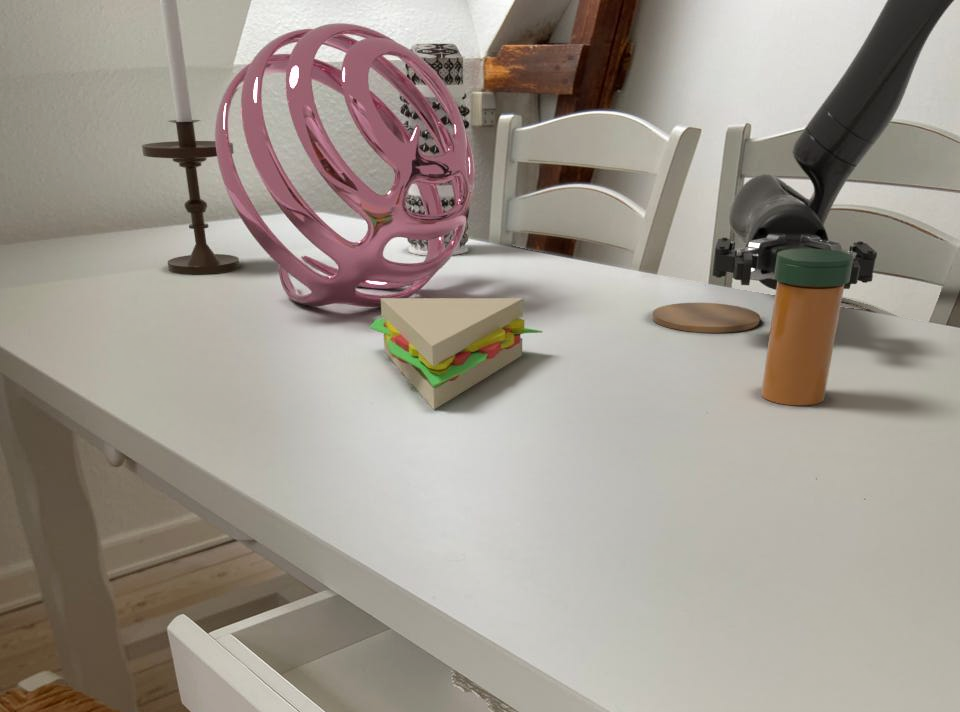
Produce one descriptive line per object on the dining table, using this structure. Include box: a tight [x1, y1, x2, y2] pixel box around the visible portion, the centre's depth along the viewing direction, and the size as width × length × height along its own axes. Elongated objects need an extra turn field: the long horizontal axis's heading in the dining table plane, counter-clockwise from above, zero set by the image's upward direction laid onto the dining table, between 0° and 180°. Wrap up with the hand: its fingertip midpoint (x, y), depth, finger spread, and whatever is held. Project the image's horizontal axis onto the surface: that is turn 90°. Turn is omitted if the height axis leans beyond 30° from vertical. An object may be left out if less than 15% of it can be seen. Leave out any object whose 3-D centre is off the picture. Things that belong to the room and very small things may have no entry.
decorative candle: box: [399, 43, 470, 256], centre depth 134 cm, size 9×9×25 cm
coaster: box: [651, 302, 761, 334], centre depth 105 cm, size 11×11×1 cm
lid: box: [774, 249, 853, 287], centre depth 77 cm, size 6×6×2 cm
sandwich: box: [369, 297, 543, 410], centre depth 86 cm, size 15×20×5 cm
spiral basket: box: [214, 22, 476, 308], centre depth 108 cm, size 28×28×27 cm
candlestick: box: [141, 0, 241, 275], centre depth 121 cm, size 11×11×35 cm
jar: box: [760, 281, 845, 407], centre depth 79 cm, size 5×5×10 cm
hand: (797, 275), depth 87 cm, fingers open, 8 cm apart
